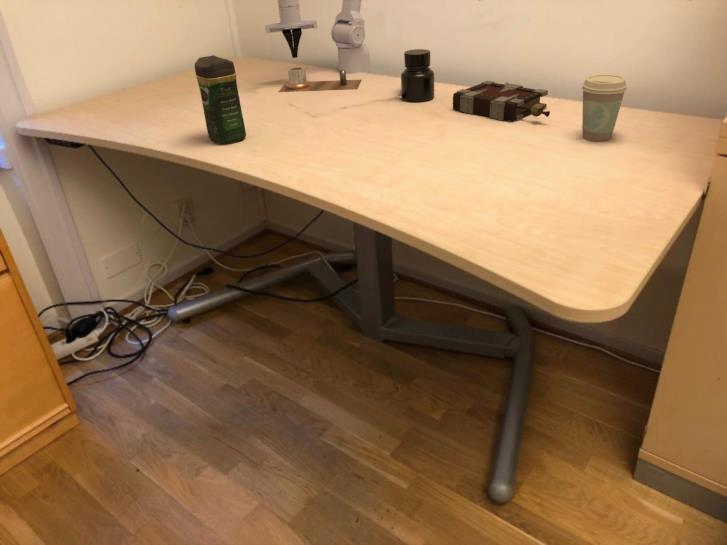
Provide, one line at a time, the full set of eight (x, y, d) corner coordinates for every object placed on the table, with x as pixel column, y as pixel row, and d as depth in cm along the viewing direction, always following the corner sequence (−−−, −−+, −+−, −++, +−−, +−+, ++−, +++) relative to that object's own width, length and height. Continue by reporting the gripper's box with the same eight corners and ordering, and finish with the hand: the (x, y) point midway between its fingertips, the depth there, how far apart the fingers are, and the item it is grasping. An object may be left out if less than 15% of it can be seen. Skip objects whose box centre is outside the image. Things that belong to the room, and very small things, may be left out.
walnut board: (362, 84, 175) (361, 79, 174) (357, 94, 165) (357, 89, 165) (287, 87, 178) (286, 82, 177) (278, 97, 168) (277, 92, 167)
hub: (303, 82, 175) (301, 65, 173) (313, 86, 170) (311, 69, 168) (282, 86, 173) (280, 69, 170) (291, 90, 168) (289, 73, 165)
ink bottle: (437, 93, 161) (437, 47, 155) (434, 102, 154) (434, 54, 147) (402, 94, 163) (400, 48, 157) (398, 103, 155) (396, 56, 149)
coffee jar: (251, 139, 137) (238, 56, 128) (220, 147, 134) (203, 63, 124) (234, 130, 144) (220, 51, 135) (204, 137, 141) (187, 57, 131)
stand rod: (344, 83, 171) (343, 69, 169) (347, 84, 169) (346, 70, 167) (339, 84, 170) (338, 70, 168) (342, 85, 169) (341, 71, 167)
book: (486, 98, 155) (487, 78, 152) (572, 114, 139) (575, 92, 136) (451, 112, 147) (451, 91, 144) (538, 130, 131) (540, 107, 128)
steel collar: (302, 80, 174) (300, 66, 172) (309, 83, 170) (308, 68, 168) (286, 83, 172) (285, 69, 170) (293, 86, 168) (292, 71, 166)
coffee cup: (566, 135, 126) (573, 78, 120) (598, 127, 129) (606, 71, 122) (595, 146, 119) (603, 86, 113) (627, 138, 122) (638, 79, 116)
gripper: (312, 1, 166) (317, 51, 173) (261, 6, 164) (268, 57, 171) (316, 4, 160) (321, 56, 168) (263, 9, 158) (270, 61, 166)
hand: (294, 57), depth 169 cm, fingers closed
